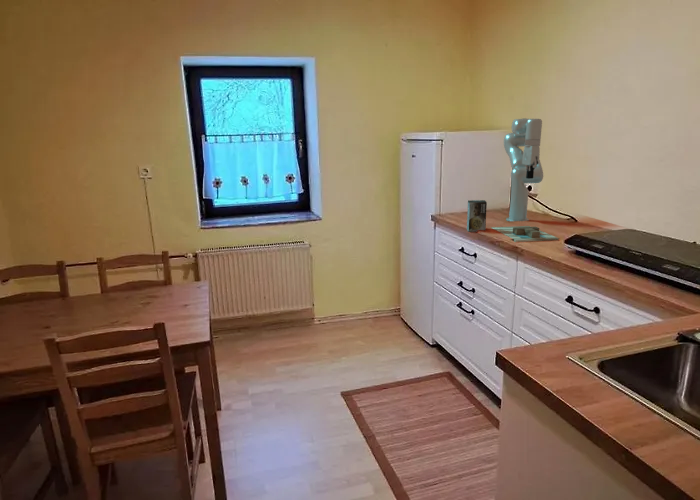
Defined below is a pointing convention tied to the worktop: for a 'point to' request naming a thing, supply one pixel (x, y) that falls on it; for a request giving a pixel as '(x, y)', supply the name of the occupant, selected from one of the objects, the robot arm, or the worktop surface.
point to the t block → (527, 231)
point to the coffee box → (476, 215)
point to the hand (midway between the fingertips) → (529, 178)
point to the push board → (523, 238)
